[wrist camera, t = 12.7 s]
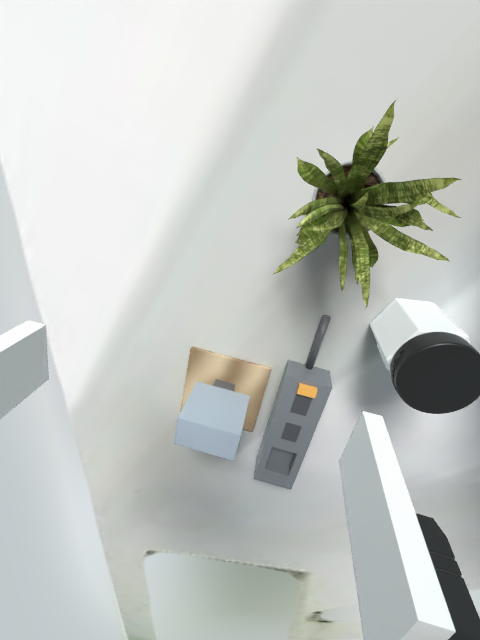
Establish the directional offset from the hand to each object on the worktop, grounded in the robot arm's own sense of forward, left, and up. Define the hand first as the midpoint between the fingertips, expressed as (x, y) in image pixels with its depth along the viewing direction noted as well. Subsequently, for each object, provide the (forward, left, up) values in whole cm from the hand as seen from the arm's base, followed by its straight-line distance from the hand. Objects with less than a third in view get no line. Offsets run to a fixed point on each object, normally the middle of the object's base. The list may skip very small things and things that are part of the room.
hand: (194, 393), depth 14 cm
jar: (-20, +6, -31) cm, 37 cm away
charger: (+1, +23, -30) cm, 38 cm away
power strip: (-10, +21, -31) cm, 39 cm away
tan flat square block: (+1, +23, -31) cm, 38 cm away
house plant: (-7, -6, -31) cm, 32 cm away
